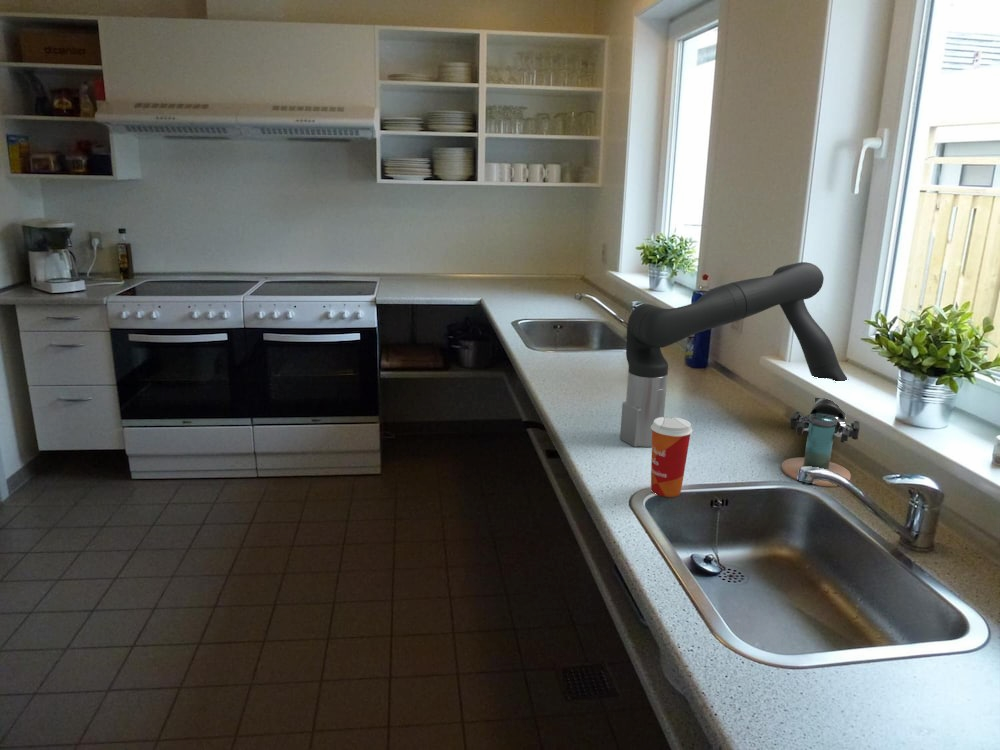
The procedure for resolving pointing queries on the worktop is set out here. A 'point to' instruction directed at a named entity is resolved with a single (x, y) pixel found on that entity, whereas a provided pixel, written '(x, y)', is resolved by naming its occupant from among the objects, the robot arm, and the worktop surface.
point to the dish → (794, 464)
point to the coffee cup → (669, 455)
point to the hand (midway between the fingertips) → (821, 434)
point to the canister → (819, 440)
